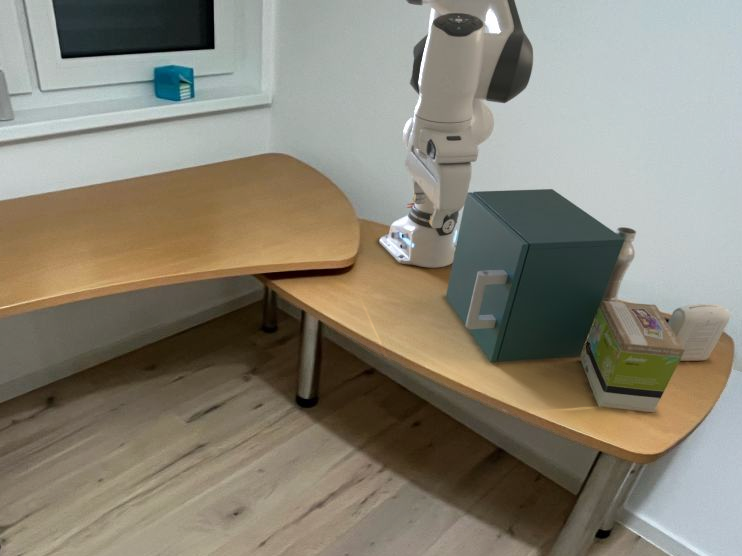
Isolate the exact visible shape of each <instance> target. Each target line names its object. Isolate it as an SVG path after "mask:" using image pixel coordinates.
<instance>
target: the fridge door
mask: <svg viewBox="0 0 742 556" xmlns="http://www.w3.org/2000/svg"><path fill="white" fill-rule="evenodd" d="M462 209H463V210H462V215H461V220H460V224H459V230H458V233H457V238H456V243H455V247H456V249H455V253H454V259H453V263H451V264H452V265H451V269H450V275H449V280H448V283H447V284H448V285H447V289H446V295H445V298H446V300H447V302H448V303H449V304H450V305H451V307H452V309H453V310H454V311H455V313H456V314H457V316H458V317H459V319H460V321H461V322H462V323H463V325H464V326H465V328H466V329H467V330H468V331H469V333H470V334H471V336H472V337H473V339H474V340H475V342H476V343H477V345H478V346H479V348H480V349H481V350H482V352H483V354H484V355H485V356H486V358H487V359H488V361H489V362H490V363H497V357H498V353H499V350H500V346H501V343H502V339H503V335H504V332H505V328H506V325H507V321H508V318H509V314H510V310H511V307H512V303H513V300H514V296H515V292H516V289H517V285H518V282H519V278H520V274H521V271H522V267H523V264H524V260H525V257H526V253H527V249H528V246H529V244H528V243H527V242H526V241H525V240H524V239H523V238H521V237H520V236H519V235H518V234H517V233H516V232H515V231H514V230H513V229H512V228H510V227H509V226H508V225H507V224H506V223H505V222H504V221H503V220H502V219H501V218H500V217H498V216H497V215H496V214H495V213H494V212H493V211H492V210H491V209H490V208H489V207H487V206H486V205H485V204H484V203H483V202H482V201H481V200H480V199H479V198H478V197H476V196H475V195H474V194H473V192H472V191H471V192H469V191H468V193H467V197H466V200H465V203H464V206H463V208H462Z"/></svg>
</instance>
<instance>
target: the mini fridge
mask: <svg viewBox="0 0 742 556" xmlns="http://www.w3.org/2000/svg"><path fill="white" fill-rule="evenodd" d="M472 193H473V194H474V195H475V196H476V197H478V198H479V199H480V200H481V201H482V202H483V203H484V204H485V205H486V206H487V207H489V208H490V209H491V210H492V211H493V212H494V213H495V214H496V215H497V216H498V217H500V218H501V219H502V220H503V221H504V222H505V223H506V224H507V225H508V226H509V227H510V228H512V229H513V230H514V231H515V232H516V233H517V234H518V235H519V236H520V237H521V238H523V239H524V240H525V241H526V242H527V243H528V244H529V246H528V249H527V253H526V257H525V260H524V264H523V267H522V271H521V274H520V278H519V282H518V285H517V289H516V292H515V296H514V300H513V303H512V307H511V310H510V314H509V318H508V321H507V325H506V328H505V332H504V335H503V339H502V343H501V346H500V350H499V353H498V357H497V361H496V363H503V362H504V363H505V362H519V361H520V362H521V361H534V360H536V361H537V360H550V359H551V360H552V359H565V358H566V359H568V358H581V356H582V353H583V350H584V348H585V346H586V343H587V340H588V337H589V334H590V332H591V329H592V326H593V323H594V321H595V318H596V316H597V311H598V309H599V306H600V304H601V301H602V298H603V296H604V293H605V290H606V288H607V285H608V283H609V280H610V277H611V275H612V272H613V270H614V267H615V264H616V262H617V259H618V256H619V254H620V251H621V249H622V246H623V243H624V241H625V239H624V238H622V237H621V236H619V235H618V234H616V231H614V230H613V229H611V228H610V227H608V226H607V225H605V224H604V223H602V222H601V221H599V220H598V219H596V218H595V217H594V216H592V215H591V214H589V213H587V212H586V211H584V210H583V209H582V208H580V207H579V206H578V205H576V204H574V202H572V201H570V200H569V199H568V198H566V197H565V196H563V194H560V193H558V192H557V191H556V190H554V189H553V188H542V189H541V188H540V189H515V190H512V189H511V190H509V189H508V190H484V191H473V192H472Z"/></svg>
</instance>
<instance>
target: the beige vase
mask: <svg viewBox="0 0 742 556" xmlns="http://www.w3.org/2000/svg"><path fill="white" fill-rule="evenodd" d="M615 233H616V234H618V235H619V236H621V237H622V238H624V239H625V241H624V243H623V246H622V249H621V251H620V254H619V256H618V259H617V262H616V264H615V267H614V270H613V272H612V275H611V277H610V280H609V283H608V285H607V288H606V290H605V293H604V296H603V298H602V301H603V300H604V301H612V302H618V296H619V291H620V288H621V285H622V281H623V279H624V277H625V275H626V273H627V271H628V269H629V268H630V266H631V264H632V262H633V260H634V258H635V255H636V254H635V253H636V252H635V248H634V245H633V242H634V241H635V237H636V234H637V231H636V230H635V229H633V228H630V227H625V226H623V227H622V226H621V227H620V226H619V227H618V228H617V229H616V231H615ZM602 301H601V302H602ZM600 305H601V304H600ZM599 307H600V306H599ZM598 310H599V309H598ZM597 313H598V311H597Z"/></svg>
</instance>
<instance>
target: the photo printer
mask: <svg viewBox="0 0 742 556" xmlns="http://www.w3.org/2000/svg"><path fill="white" fill-rule="evenodd" d="M730 317H731V313H730V310H729V309H726V308H725V306H721V305H718V304H713V303H694V304H688V305H683V306H679V307H677V308H675V309H674V310H673V312H672V313H671V315H670V317H669V319H670V320H669V322H668V325H669V326H670V328H671V329H672V331H673V332H674V334H675V335H676V337H677V338H678V340H679V341H680V343H681V344H682V346H683V347H684V349H685V351H684V353H683V355H682V357H681V360H680V361H681V362H685V361H689V362H690V361H693V362H694V361H706V360H708V359H709V357H710V356H711V354H712V352H713V350H714V349H715V347H716V345H717V343H718V341H719V340H720V338H721V336H722V335H723V332H724V331H725V329H726V327H727V325H728V324H729V322H730Z"/></svg>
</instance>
